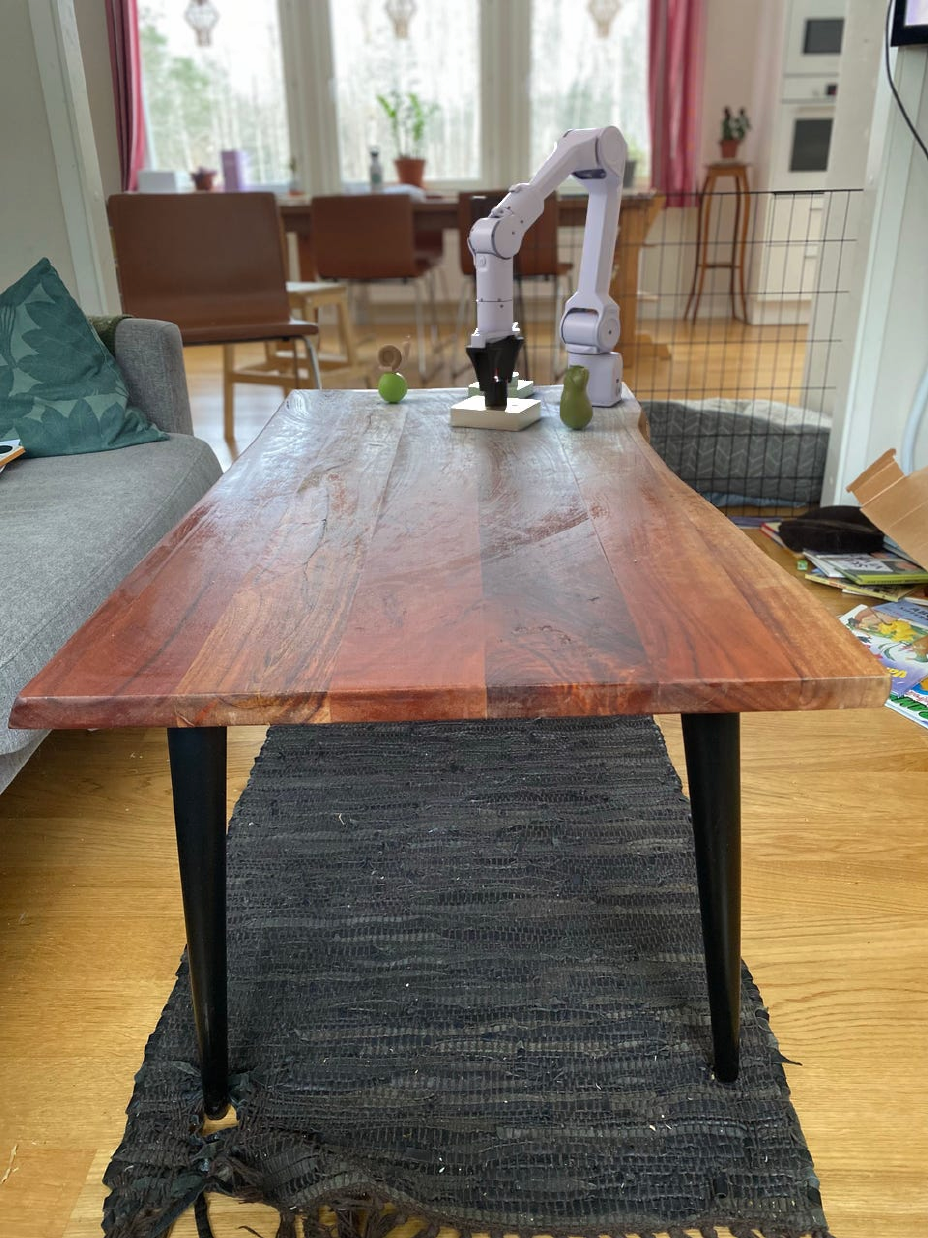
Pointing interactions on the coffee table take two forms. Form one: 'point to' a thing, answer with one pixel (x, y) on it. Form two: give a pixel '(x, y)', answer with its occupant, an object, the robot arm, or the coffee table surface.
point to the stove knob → (497, 393)
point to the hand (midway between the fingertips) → (496, 386)
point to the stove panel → (495, 414)
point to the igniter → (514, 389)
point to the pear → (575, 398)
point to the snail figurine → (393, 372)
